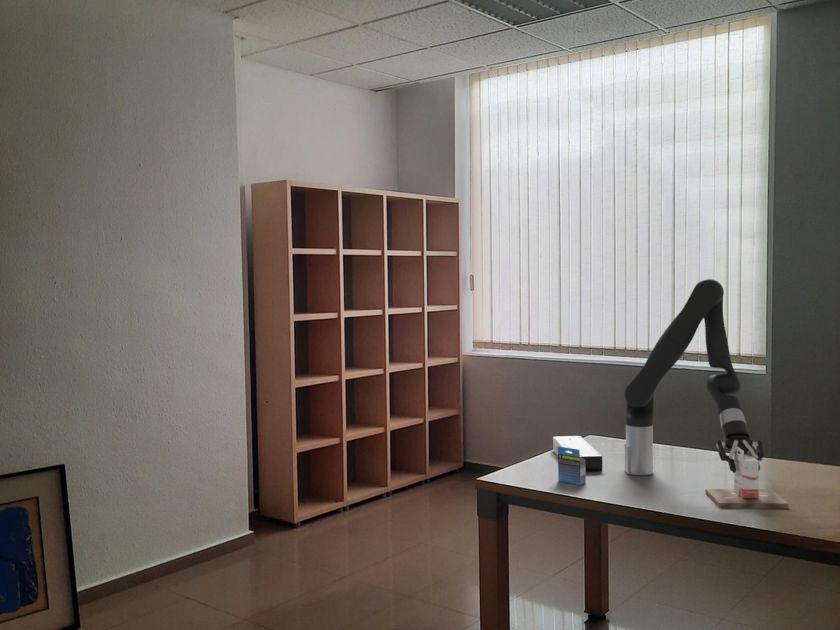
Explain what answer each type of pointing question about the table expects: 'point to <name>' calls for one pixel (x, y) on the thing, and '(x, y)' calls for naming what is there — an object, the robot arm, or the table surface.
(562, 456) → the label tape cartridge
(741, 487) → the ink cartridge box
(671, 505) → the table surface
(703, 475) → the table surface
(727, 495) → the walnut board
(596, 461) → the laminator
